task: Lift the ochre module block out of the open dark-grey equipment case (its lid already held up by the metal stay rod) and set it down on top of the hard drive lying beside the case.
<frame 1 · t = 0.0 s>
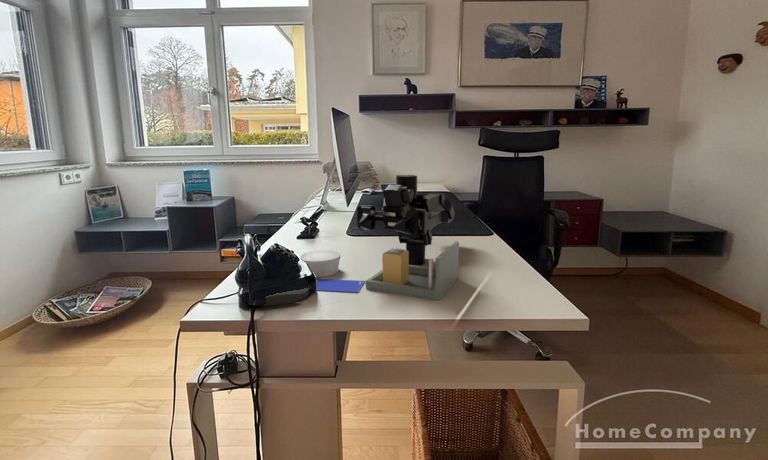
hand: (376, 226, 101), 17 cm above the table, tool horizontal, fingers open, 9 cm apart
module: (395, 282, 109), point 1 cm above the table, touching case
media streaming box: (278, 295, 104), on the table
hard drive: (337, 291, 107), on the table
case: (411, 285, 108), on the table
ramekin: (320, 274, 119), on the table
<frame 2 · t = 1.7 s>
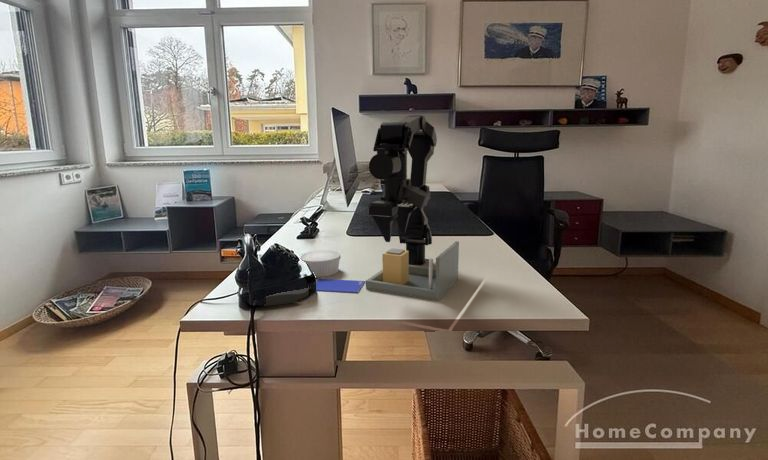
hand: (395, 237, 106), 12 cm above the table, tool pointing down, fingers open, 9 cm apart
nothing on the table moved.
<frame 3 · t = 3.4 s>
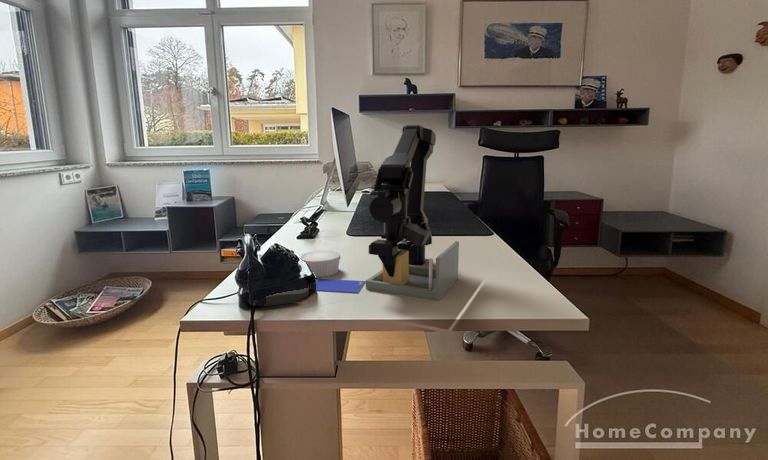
hand: (395, 273, 108), 3 cm above the table, tool pointing down, fingers closed on module, 5 cm apart
module: (395, 282, 109), point 1 cm above the table, touching case, gripper
everything else where it was.
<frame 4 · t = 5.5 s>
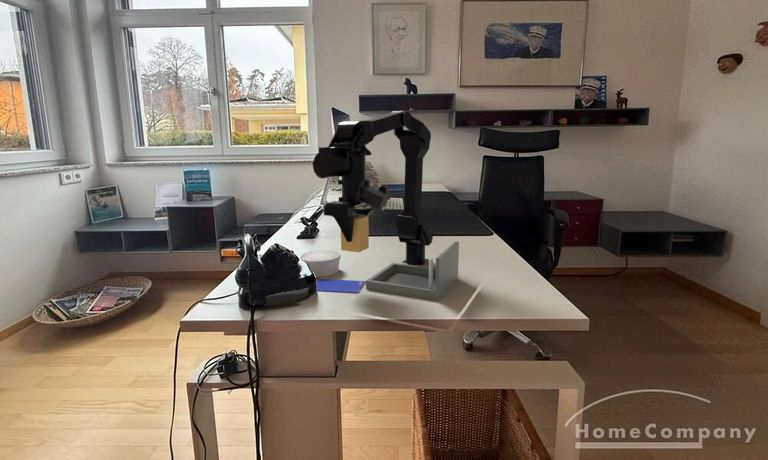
hand: (354, 239, 104), 13 cm above the table, tool pointing down, fingers closed on module, 5 cm apart
module: (355, 248, 104), point 10 cm above the table, touching gripper
everything else where it was.
when the fingers open (6 cm above the table, at t = 7.6 s): module drops 3 cm, resting on hard drive.
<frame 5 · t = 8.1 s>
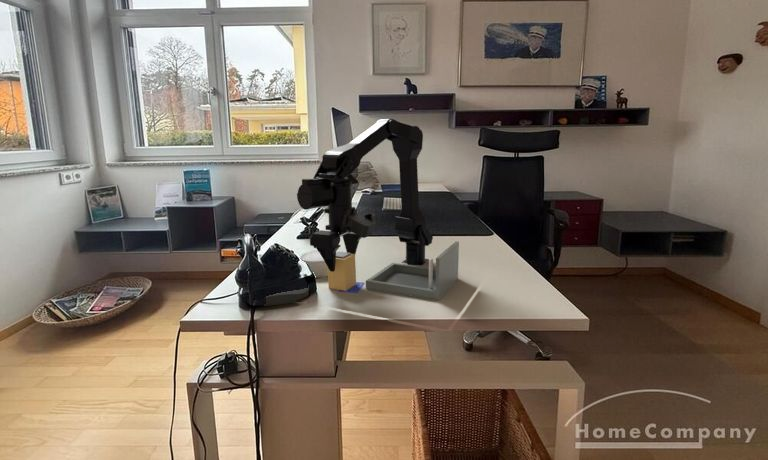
hand: (342, 265, 105), 6 cm above the table, tool pointing down, fingers open, 9 cm apart
module: (342, 286, 107), point 1 cm above the table, touching hard drive
hard drive: (338, 292, 107), on the table, touching module
everything else where it was.
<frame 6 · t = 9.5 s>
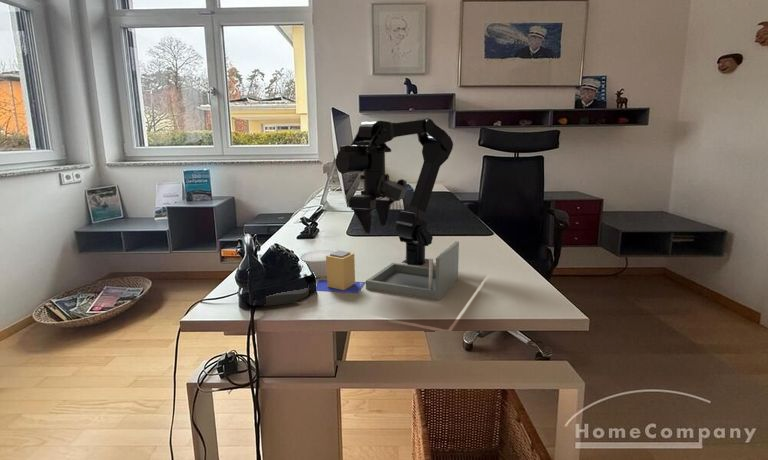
hand: (375, 229, 114), 13 cm above the table, tool pointing down, fingers open, 9 cm apart
module: (341, 285, 107), point 1 cm above the table
hard drive: (338, 292, 107), on the table
everything else where it was.
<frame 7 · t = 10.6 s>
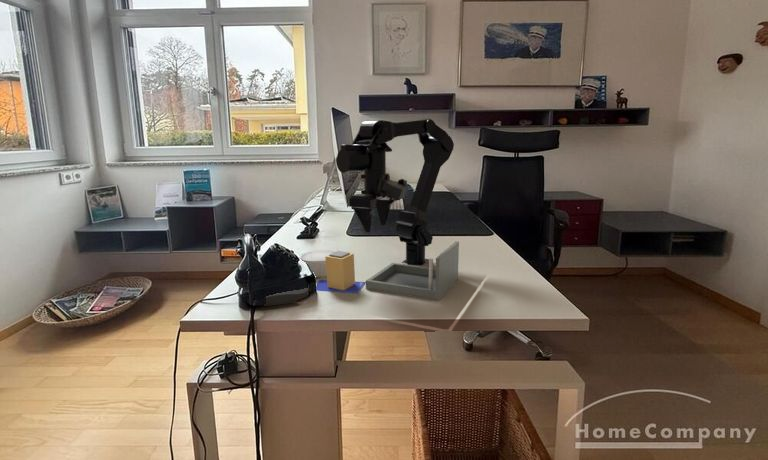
hand: (375, 228, 114), 13 cm above the table, tool pointing down, fingers open, 9 cm apart
module: (341, 285, 107), point 1 cm above the table, touching hard drive
hard drive: (338, 292, 107), on the table, touching module
everything else where it was.
at the end: module inside the target area on the hard drive (0.8 cm from its centre), point 1.8 cm above the hard drive's base; module tilted 1°; the gripper is holding nothing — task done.
